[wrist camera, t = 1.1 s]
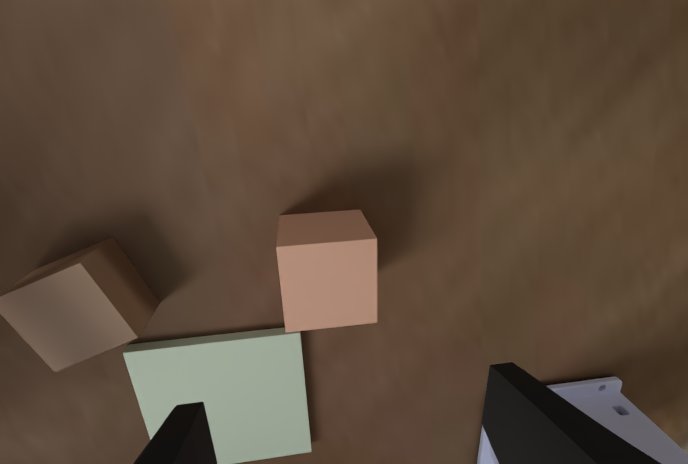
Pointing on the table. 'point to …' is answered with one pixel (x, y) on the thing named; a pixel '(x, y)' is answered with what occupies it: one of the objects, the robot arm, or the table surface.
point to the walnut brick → (79, 305)
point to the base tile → (229, 389)
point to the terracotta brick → (327, 270)
